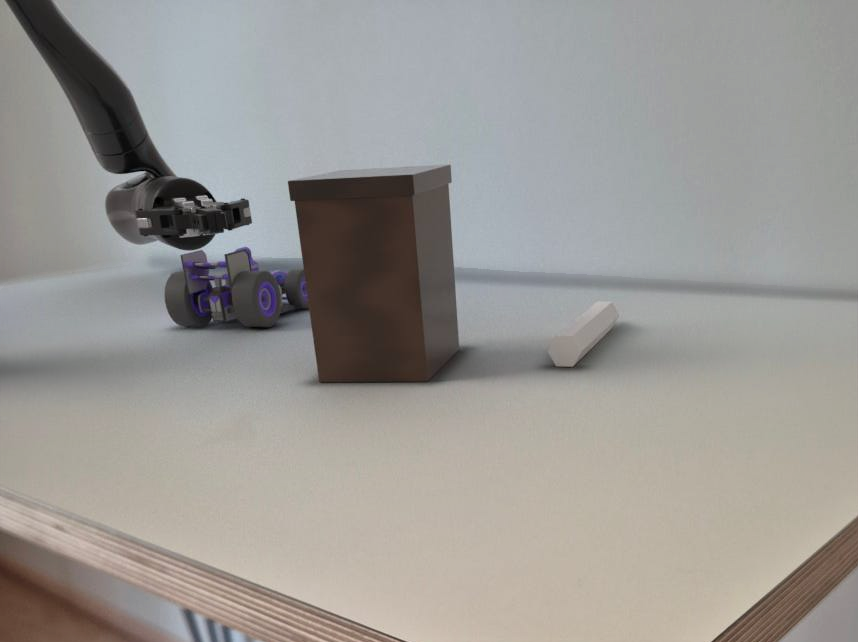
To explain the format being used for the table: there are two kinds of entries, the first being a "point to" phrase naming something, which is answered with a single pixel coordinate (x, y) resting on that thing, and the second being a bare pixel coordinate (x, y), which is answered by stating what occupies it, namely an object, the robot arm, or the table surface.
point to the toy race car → (232, 291)
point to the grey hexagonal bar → (583, 334)
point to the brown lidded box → (378, 271)
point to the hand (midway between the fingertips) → (215, 222)
